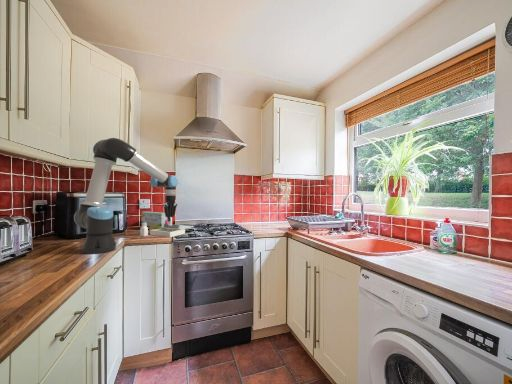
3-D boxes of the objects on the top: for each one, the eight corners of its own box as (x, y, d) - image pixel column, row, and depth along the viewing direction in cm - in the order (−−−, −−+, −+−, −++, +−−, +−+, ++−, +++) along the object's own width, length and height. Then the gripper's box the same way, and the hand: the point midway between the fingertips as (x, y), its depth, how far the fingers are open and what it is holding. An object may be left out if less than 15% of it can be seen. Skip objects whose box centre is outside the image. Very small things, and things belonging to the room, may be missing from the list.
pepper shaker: (144, 236, 161) (144, 223, 161) (139, 236, 162) (139, 223, 162) (148, 235, 165) (148, 222, 165) (143, 235, 166) (144, 222, 166)
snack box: (140, 229, 192) (141, 211, 192) (145, 228, 198) (146, 211, 198) (161, 230, 186) (161, 212, 186) (165, 229, 191) (166, 212, 192)
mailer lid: (180, 229, 170) (180, 225, 170) (160, 227, 178) (161, 223, 178) (193, 227, 185) (193, 223, 185) (175, 225, 193) (175, 221, 193)
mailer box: (170, 237, 160) (170, 232, 160) (149, 234, 168) (149, 230, 168) (184, 233, 175) (185, 229, 175) (165, 231, 183) (165, 227, 183)
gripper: (168, 195, 166) (167, 226, 166) (180, 195, 178) (179, 224, 178) (160, 195, 169) (159, 226, 169) (172, 195, 181) (172, 224, 181)
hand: (169, 225), depth 173 cm, fingers closed
